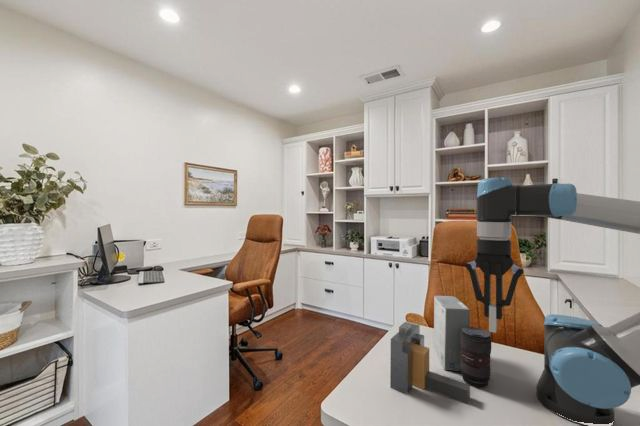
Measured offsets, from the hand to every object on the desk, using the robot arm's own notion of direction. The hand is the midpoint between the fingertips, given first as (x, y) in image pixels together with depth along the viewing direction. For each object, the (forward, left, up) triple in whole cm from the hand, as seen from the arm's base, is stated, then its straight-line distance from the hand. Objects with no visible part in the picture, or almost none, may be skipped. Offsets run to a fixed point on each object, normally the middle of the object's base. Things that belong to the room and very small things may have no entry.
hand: (492, 330), depth 72 cm
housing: (+22, 0, -20) cm, 30 cm away
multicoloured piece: (+13, 0, -20) cm, 24 cm away
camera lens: (+5, -11, -21) cm, 24 cm away
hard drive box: (+14, -20, -21) cm, 32 cm away
